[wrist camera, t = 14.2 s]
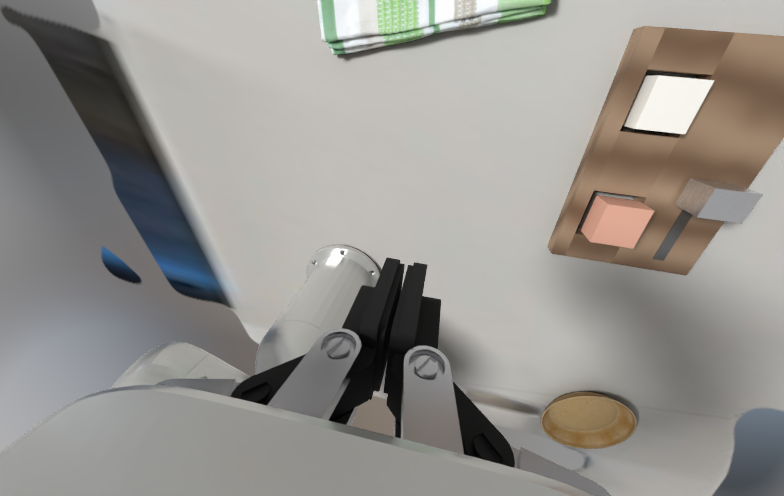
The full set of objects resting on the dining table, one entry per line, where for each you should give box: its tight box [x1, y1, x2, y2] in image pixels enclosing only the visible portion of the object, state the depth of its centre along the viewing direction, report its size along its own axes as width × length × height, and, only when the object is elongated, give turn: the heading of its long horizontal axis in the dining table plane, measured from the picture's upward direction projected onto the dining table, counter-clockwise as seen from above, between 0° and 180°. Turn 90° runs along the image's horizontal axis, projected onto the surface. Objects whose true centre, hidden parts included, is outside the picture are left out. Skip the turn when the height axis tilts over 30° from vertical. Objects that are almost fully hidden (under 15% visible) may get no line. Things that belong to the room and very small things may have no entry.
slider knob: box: [675, 178, 763, 224], centre depth 31 cm, size 3×4×4 cm
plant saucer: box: [541, 392, 637, 449], centre depth 53 cm, size 15×15×3 cm
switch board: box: [548, 26, 784, 275], centre depth 33 cm, size 24×16×2 cm, turn 175°
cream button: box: [622, 75, 715, 134], centre depth 30 cm, size 5×5×3 cm
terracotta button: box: [581, 195, 654, 249], centre depth 34 cm, size 5×5×3 cm
